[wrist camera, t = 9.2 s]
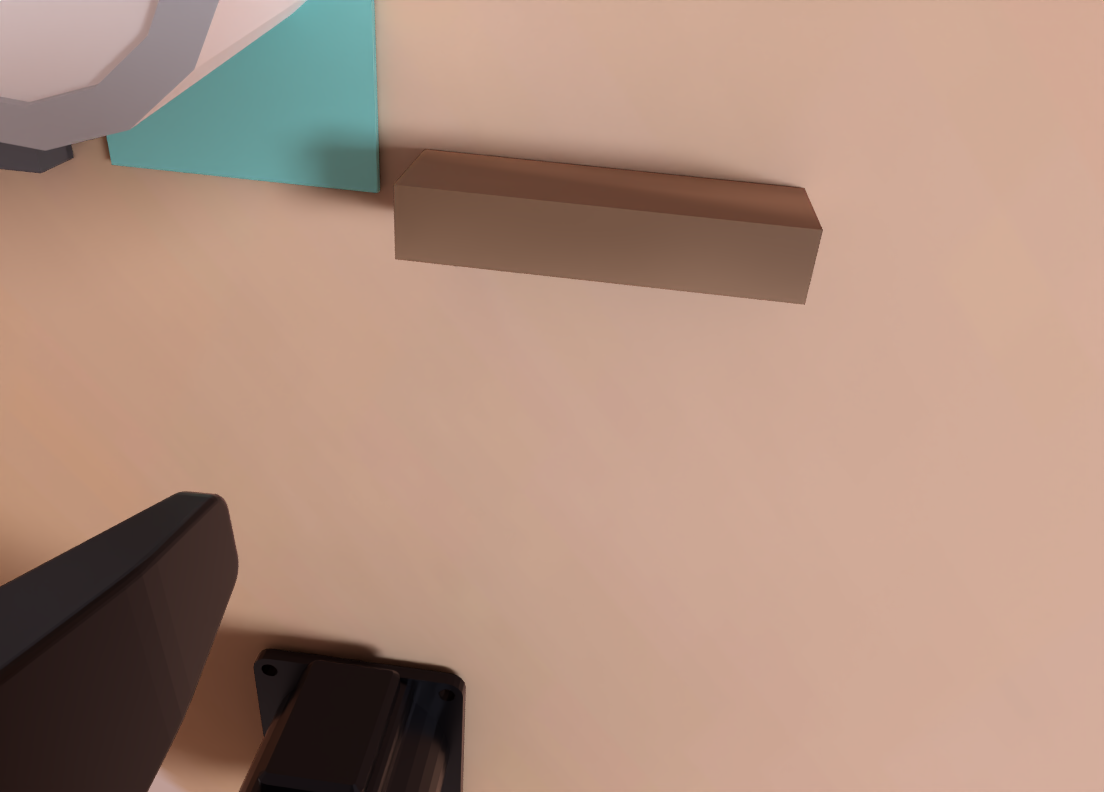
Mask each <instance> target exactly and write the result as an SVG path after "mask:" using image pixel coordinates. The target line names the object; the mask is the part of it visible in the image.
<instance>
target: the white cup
mask: <svg viewBox="0 0 1104 792" xmlns="http://www.w3.org/2000/svg"><path fill="white" fill-rule="evenodd" d="M306 1H307V0H0V142H2V143H7V144H13V145H18V146H23V147H29V148H34V149H39V150H44V151H46V150H50V149H54V148H58V147H62V146H66V145H70V144H75V143H79V142H83V141H87V140H91V139H95V138H99V137H103V136H107V135H111V134H115V133H119V132H123V131H127V130H130V129H132V128H133V127H134V126H136V125H137V124H139V123H140V122H141V121H143V120H144V119H146V118H147V117H148V116H150V115H151V114H153V113H154V112H155V111H157V110H158V109H160V108H161V107H162V106H164V105H165V104H167V103H168V102H169V101H171V100H172V99H174V98H175V97H176V96H178V95H179V94H181V93H182V92H183V91H185V90H186V89H188V88H189V87H190V86H192V85H193V84H195V83H196V82H197V81H199V80H200V79H202V78H203V77H204V76H206V75H207V74H209V73H210V72H211V71H213V70H214V69H216V68H217V67H219V66H220V65H221V64H223V63H224V62H226V61H227V60H228V59H230V58H231V57H233V56H234V55H235V54H237V53H238V52H240V51H241V50H242V49H244V48H245V47H247V46H248V45H249V44H251V43H252V42H254V41H255V40H256V39H258V38H259V37H261V36H262V35H263V34H265V33H266V32H268V31H269V30H270V29H272V28H273V27H275V26H276V25H277V24H279V23H280V22H282V21H283V20H284V19H286V18H287V17H289V16H290V15H291V14H293V13H294V12H295V11H296V10H297V9H298V8H299V7H300V6H301V5H303V4H304V3H305V2H306Z"/></svg>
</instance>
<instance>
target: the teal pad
mask: <svg viewBox="0 0 1104 792" xmlns="http://www.w3.org/2000/svg"><path fill="white" fill-rule="evenodd" d="M106 137H107V142H108V147H109V153H110V158H111V163H112V165H119V166H128V167H137V168H147V169H156V170H166V171H175V172H184V173H194V174H203V175H213V176H222V177H231V178H241V179H250V180H260V181H269V182H278V183H288V184H297V185H307V186H316V187H325V188H335V189H344V190H354V191H363V192H372V193H378V192H379V191H380V171H379V139H378V107H377V75H376V42H375V10H374V0H307V1H306V2H305V3H304V4H303V5H301V6H300V7H299V8H298V9H297V10H296V11H295V12H294V13H293V14H291V15H290V16H289V17H287V18H286V19H284V20H283V21H282V22H280V23H279V24H277V25H276V26H275V27H273V28H272V29H270V30H269V31H268V32H266V33H265V34H263V35H262V36H261V37H259V38H258V39H256V40H255V41H254V42H252V43H251V44H249V45H248V46H247V47H245V48H244V49H242V50H241V51H240V52H238V53H237V54H235V55H234V56H233V57H231V58H230V59H228V60H227V61H226V62H224V63H223V64H221V65H220V66H219V67H217V68H216V69H214V70H213V71H211V72H210V73H209V74H207V75H206V76H204V77H203V78H202V79H200V80H199V81H197V82H196V83H195V84H193V85H192V86H190V87H189V88H188V89H186V90H185V91H183V92H182V93H181V94H179V95H178V96H176V97H175V98H174V99H172V100H171V101H169V102H168V103H167V104H165V105H164V106H162V107H161V108H160V109H158V110H157V111H155V112H154V113H153V114H151V115H150V116H148V117H147V118H146V119H144V120H143V121H141V122H140V123H139V124H137V125H136V126H134V127H133V128H132V129H130V130H127V131H123V132H119V133H115V134H111V135H107V136H106Z"/></svg>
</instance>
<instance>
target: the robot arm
mask: <svg viewBox="0 0 1104 792" xmlns="http://www.w3.org/2000/svg"><path fill="white" fill-rule="evenodd" d="M237 575H238V554H237V550H236V545H235V540H234V535H233V530H232V525H231V520H230V515H229V510H228V507H227V504H226V502H225V500H224V499H223V498H222V497H221V496H219V495H217V494H211V493H199V492H188V491H186V492H178V493H176V494H174V495H172V496H170V497H168V498H166V499H164V500H163V501H161V502H159V503H157V504H155V505H153V506H151V507H149V508H147V509H146V510H144V511H142V512H140V513H138V514H136V515H134V516H132V517H130V518H129V519H127V520H125V521H123V522H121V523H119V524H117V525H115V526H114V527H112V528H110V529H108V530H106V531H104V532H102V533H100V534H98V535H97V536H95V537H93V538H91V539H89V540H87V541H85V542H83V543H82V544H80V545H78V546H76V547H74V548H72V549H70V550H68V551H66V552H65V553H63V554H61V555H59V556H57V557H55V558H53V559H51V560H49V561H48V562H46V563H44V564H42V565H40V566H38V567H36V568H34V569H32V570H31V571H29V572H27V573H25V574H23V575H21V576H19V577H17V578H16V579H14V580H12V581H10V582H8V583H6V584H4V585H2V586H0V792H148V790H149V788H150V786H151V784H152V782H153V780H154V778H155V776H156V774H157V772H158V770H159V768H160V766H161V764H162V762H163V760H164V758H165V756H166V754H167V752H168V750H169V748H170V746H171V745H172V742H173V740H174V738H175V736H176V734H177V732H178V730H179V728H180V726H181V724H182V721H183V719H184V717H185V714H186V712H187V709H188V707H189V705H190V702H191V700H192V697H193V695H194V692H195V689H196V687H197V684H198V681H199V679H200V676H201V673H202V671H203V668H204V665H205V663H206V660H207V657H208V655H209V652H210V649H211V647H212V644H213V641H214V639H215V636H216V634H217V631H218V628H219V626H220V623H221V620H222V618H223V615H224V612H225V610H226V607H227V604H228V602H229V599H230V596H231V594H232V591H233V588H234V586H235V583H236V579H237ZM254 674H255V681H256V687H257V694H258V700H259V707H260V714H261V720H262V727H263V734H264V739H263V741H262V743H261V745H260V747H259V749H258V751H257V754H256V756H255V758H254V760H253V762H252V764H251V766H250V769H249V771H248V773H247V775H246V777H245V779H244V781H243V784H242V786H241V788H240V790H239V792H463V763H464V729H465V694H466V686H465V682H464V681H463V680H462V679H461V678H460V677H458V676H456V675H454V674H450V673H443V672H436V671H429V670H421V669H414V668H407V667H400V666H393V665H385V664H378V663H371V662H364V661H357V660H349V659H342V658H335V657H328V656H321V655H313V654H306V653H299V652H292V651H285V650H277V649H265V650H263V651H262V652H261V653H260V654H259V656H258V658H257V659H256V661H255V663H254ZM446 689H447V690H446ZM449 690H450V691H449Z"/></svg>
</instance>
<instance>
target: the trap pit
mask: <svg viewBox="0 0 1104 792" xmlns="http://www.w3.org/2000/svg"><path fill="white" fill-rule="evenodd" d="M72 158H74V157H73V152H72V147H71V144H70V145H66V146H62V147H58V148H54V149H50V150H46V151H44V150H39V149H34V148H29V147H23V146H18V145H13V144H7V143H2V142H0V169H6V170H15V171H25V172H34V173H43V172H45V171H47V170H49V169H51V168H53V167H55V166H57V165H59V164H62V163H64V162H66V161H68V160H70V159H72Z"/></svg>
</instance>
